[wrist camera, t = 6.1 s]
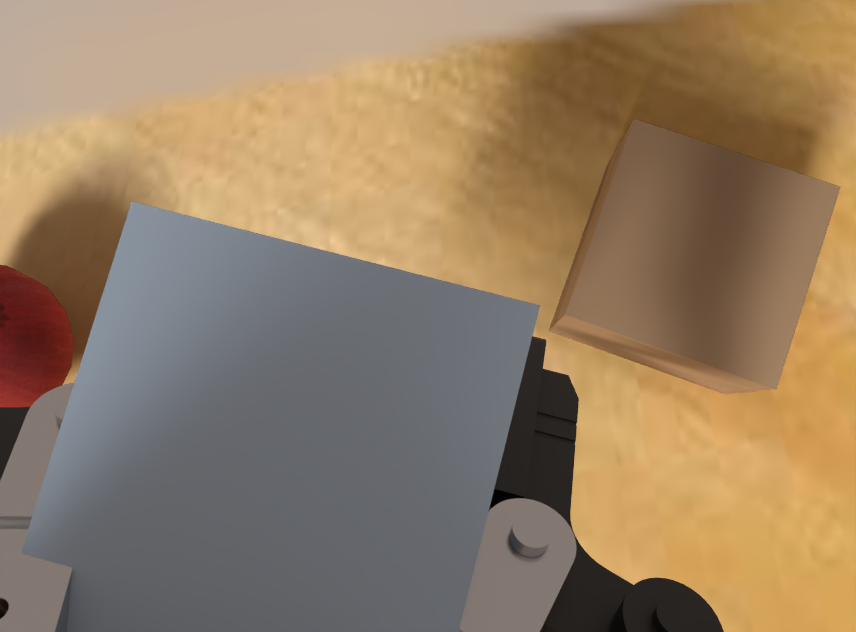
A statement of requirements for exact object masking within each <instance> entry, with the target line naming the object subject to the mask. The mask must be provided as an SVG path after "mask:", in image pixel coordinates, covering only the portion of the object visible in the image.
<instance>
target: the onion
mask: <svg viewBox="0 0 856 632" xmlns="http://www.w3.org/2000/svg"><path fill="white" fill-rule="evenodd" d="M73 348H74V339H73V335H72V332H71V328H70V324H69V321H68V317H67V314H66V311H65V309H64V308H63V307H62V306H61V304H60V303H59V302H58V301H57V299H56V298H55V297H54V295H53V294H52V293H51V292H50V290H49V289H48V288H47V287H45V286H44V285H42V284H40V283H39V282H37V281H36V280H34V279H32V278H30V277H28V276H26V275H24V274H22V273H20V272H18V271H16V270H14V269H12V268H10V267H8V266H4V265H0V407H31V406H32V405H33V403H34V402H35V401H36V400H37V399H38V398H39V397H40V396H42V395H43V394H45V393H46V392H48V391H50V390H52V389H54V388H57V387H59V386H62V385H63V383H64V381H65V378H66V376H67V374H68V372H69V370H70V368H71V363H72V356H73Z"/></svg>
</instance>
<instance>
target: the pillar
mask: <svg viewBox="0 0 856 632" xmlns="http://www.w3.org/2000/svg"><path fill="white" fill-rule="evenodd" d="M539 307H540V305H536V304H532V303H528V302H524V301H520V300H516V299H512V298H508V297H504V296H500V295H497V294H493V293H489V292H485V291H481V290H477V289H473V288H469V287H465V286H461V285H457V284H453V283H450V282H446V281H442V280H438V279H434V278H430V277H426V276H422V275H418V274H414V273H410V272H406V271H403V270H399V269H395V268H391V267H387V266H383V265H379V264H375V263H371V262H367V261H363V260H359V259H355V258H352V257H348V256H344V255H340V254H336V253H332V252H328V251H324V250H320V249H316V248H312V247H308V246H305V245H301V244H297V243H293V242H289V241H285V240H281V239H277V238H273V237H269V236H265V235H261V234H258V233H254V232H250V231H246V230H242V229H238V228H234V227H230V226H226V225H222V224H218V223H214V222H211V221H207V220H203V219H199V218H195V217H191V216H187V215H183V214H179V213H175V212H171V211H167V210H164V209H160V208H156V207H152V206H148V205H144V204H140V203H136V202H131V205H130V209H129V212H128V215H127V218H126V221H125V224H124V228H123V231H122V234H121V237H120V240H119V243H118V247H117V250H116V253H115V256H114V259H113V262H112V266H111V269H110V272H109V275H108V278H107V281H106V285H105V288H104V291H103V294H102V297H101V300H100V304H99V307H98V310H97V313H96V316H95V319H94V323H93V326H92V329H91V332H90V335H89V338H88V342H87V345H86V348H85V351H84V354H83V357H82V361H81V364H80V367H79V370H78V373H77V376H76V380H75V383H74V386H73V389H72V392H71V395H70V399H69V402H68V405H67V408H66V411H65V414H64V418H63V421H62V424H61V427H60V430H59V433H58V437H57V440H56V443H55V446H54V449H53V453H52V456H51V459H50V462H49V465H48V468H47V472H46V475H45V478H44V481H43V484H42V487H41V491H40V494H39V497H38V500H37V503H36V506H35V510H34V513H33V516H32V519H31V522H30V525H29V529H28V532H27V535H26V538H25V541H24V544H23V548H22V551H21V553H22V554H26V555H29V556H33V557H36V558H40V559H43V560H47V561H50V562H54V563H57V564H61V565H64V566H68V567H71V568H73V569H72V581H71V592H70V603H69V615H68V626H67V632H459V628H460V624H461V620H462V616H463V612H464V608H465V604H466V600H467V596H468V592H469V588H470V584H471V580H472V576H473V572H474V568H475V564H476V560H477V556H478V552H479V548H480V544H481V540H482V536H483V532H484V528H485V524H486V520H487V516H488V512H489V508H490V504H491V500H492V496H493V492H494V488H495V484H496V480H497V476H498V472H499V468H500V464H501V460H502V456H503V452H504V448H505V444H506V440H507V436H508V432H509V428H510V424H511V420H512V416H513V411H514V407H515V403H516V399H517V395H518V391H519V387H520V383H521V379H522V375H523V371H524V367H525V363H526V359H527V355H528V351H529V347H530V343H531V339H532V335H533V331H534V327H535V323H536V319H537V315H538V311H539Z"/></svg>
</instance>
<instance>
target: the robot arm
mask: <svg viewBox="0 0 856 632" xmlns="http://www.w3.org/2000/svg"><path fill="white" fill-rule="evenodd" d="M545 347H546V340H545V339H541V338H537V337H533V336H532V339H531V343H530V347H529V351H528V355H527V359H526V363H525V367H524V371H523V375H522V379H521V383H520V387H519V391H518V395H517V399H516V403H515V407H514V411H513V416H512V420H511V424H510V428H509V432H508V436H507V440H506V444H505V448H504V452H503V456H502V460H501V464H500V468H499V472H498V476H497V480H496V484H495V488H494V492H493V496H492V500H491V504H490V508H489V512H488V516H487V520H486V524H485V528H484V532H483V536H482V540H481V544H480V548H479V552H478V556H477V560H476V564H475V568H474V572H473V576H472V580H471V584H470V588H469V592H468V596H467V600H466V604H465V608H464V612H463V616H462V620H461V624H460V628H459V632H724V631H723V629H722V626H721V624H720V622H719V619H718V617H717V615H716V614H715V612H714V611H713V609H712V608H711V607H710V605H709V604H708V603H707V602H706V601H705V600H704V599H703V598H702V597H701V596H700V595H699V594H697V593H696V592H695V591H693V590H692V589H691V588H689V587H687V586H685V585H683V584H681V583H679V582H676V581H674V580H670V579H666V578H649V579H645V580H642V581H640V582H638V583H636V584H635V585H633V584H631V583H629V582H628V581H626V580H624V579H622V578H621V577H619V576H617V575H616V574H614V573H612V572H611V571H609V570H607V569H606V568H604V567H603V566H601V565H600V564H598V563H597V562H596V561H595V560H594V559H592V558H591V557H590V556H589V555H588V554H587V553H586V552H585V550H584V549H583V548H582V546H581V545H580V544H579V542H578V540H577V538H576V537H575V535H574V532H573V529H572V526H571V521H570V508H571V495H572V481H573V468H574V454H575V441H576V428H577V426H576V423H577V414H578V401H579V399H578V396H577V394H576V392H575V389H574V387H573V385H572V383H571V380H570V378H569V376H568V375H565V374H561V373H557V372H553V371H549V370H545V369H543V362H544V355H545ZM73 386H74V383H70V384H66V385H62V386H59V387H57V388H54V389H52V390H50V391H48V392H46V393H45V394H43V395H42V396H40V397H39V398H38V399H37V400H36V401H35V402H34V403H33V405H32V406H31V407H0V632H67V626H68V615H69V603H70V592H71V581H72V569H73V568H71V567H68V566H64V565H61V564H57V563H54V562H50V561H47V560H43V559H40V558H36V557H33V556H29V555H26V554H22V553H21V551H22V548H23V544H24V541H25V538H26V535H27V532H28V529H29V525H30V522H31V519H32V516H33V513H34V510H35V506H36V503H37V500H38V497H39V494H40V491H41V487H42V484H43V481H44V478H45V475H46V472H47V468H48V465H49V462H50V459H51V456H52V453H53V449H54V446H55V443H56V440H57V437H58V433H59V430H60V427H61V424H62V421H63V418H64V414H65V411H66V408H67V405H68V402H69V399H70V395H71V392H72V389H73Z"/></svg>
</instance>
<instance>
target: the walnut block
mask: <svg viewBox="0 0 856 632" xmlns="http://www.w3.org/2000/svg"><path fill="white" fill-rule="evenodd" d="M839 190H840V186H837V185H834V184H831V183H828V182H825V181H822V180H819V179H816V178H813V177H810V176H806V175H803V174H800V173H797V172H794V171H791V170H788V169H785V168H782V167H779V166H776V165H773V164H770V163H767V162H764V161H761V160H758V159H755V158H752V157H749V156H746V155H743V154H740V153H737V152H734V151H731V150H728V149H725V148H722V147H718V146H715V145H712V144H709V143H706V142H703V141H700V140H697V139H694V138H691V137H688V136H685V135H682V134H679V133H676V132H673V131H670V130H667V129H664V128H661V127H658V126H655V125H652V124H649V123H646V122H643V121H640V120H637V119H633V121H632V123H631V125H630V126H629V128H628V130H627V132H626V133H625V135H624V137H623V139H622V140H621V142H620V144H619V146H618V147H617V149H616V151H615V153H614V154H613V156H612V158H611V160H610V161H609V163H608V165H607V167H606V170H605V173H604V176H603V179H602V182H601V184H600V187H599V190H598V193H597V196H596V199H595V201H594V204H593V207H592V210H591V213H590V216H589V218H588V221H587V224H586V227H585V230H584V233H583V235H582V238H581V241H580V244H579V247H578V250H577V252H576V255H575V258H574V261H573V264H572V267H571V269H570V272H569V275H568V278H567V281H566V284H565V286H564V289H563V292H562V295H561V298H560V301H559V303H558V306H557V309H556V312H555V315H554V318H553V320H552V323H551V326H550V329H549V331H550V332H553V333H556V334H558V335H561V336H564V337H567V338H570V339H572V340H575V341H578V342H581V343H583V344H586V345H589V346H592V347H595V348H597V349H600V350H603V351H606V352H609V353H611V354H614V355H617V356H620V357H623V358H625V359H628V360H631V361H634V362H637V363H639V364H642V365H645V366H648V367H651V368H653V369H656V370H659V371H662V372H664V373H667V374H670V375H673V376H676V377H678V378H681V379H684V380H687V381H690V382H692V383H695V384H698V385H701V386H704V387H706V388H709V389H712V390H715V391H718V392H720V393H723V394H732V393H743V392H754V391H765V390H775V389H777V386H778V383H779V379H780V376H781V373H782V370H783V367H784V364H785V361H786V357H787V354H788V351H789V348H790V345H791V342H792V338H793V335H794V332H795V329H796V326H797V323H798V319H799V316H800V313H801V310H802V307H803V304H804V301H805V297H806V294H807V291H808V288H809V285H810V282H811V278H812V275H813V272H814V269H815V266H816V263H817V259H818V256H819V253H820V250H821V247H822V244H823V240H824V237H825V234H826V231H827V228H828V225H829V222H830V218H831V215H832V212H833V209H834V206H835V203H836V199H837V196H838V193H839Z"/></svg>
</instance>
